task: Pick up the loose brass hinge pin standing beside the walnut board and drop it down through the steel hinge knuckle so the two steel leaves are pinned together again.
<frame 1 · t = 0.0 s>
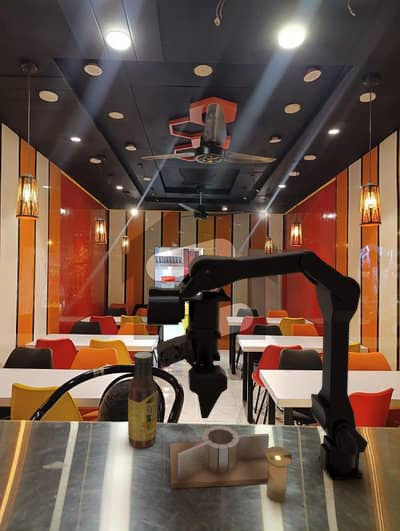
hand: (201, 404, 68), 15 cm above the countertop, tool pointing down, fingers open, 9 cm apart
hinge pin: (276, 495, 66), on the countertop
hinge: (223, 450, 72), on the walnut board, point 4 cm above the countertop
sauce bottle: (142, 441, 81), on the countertop
walnut board: (219, 464, 74), on the countertop
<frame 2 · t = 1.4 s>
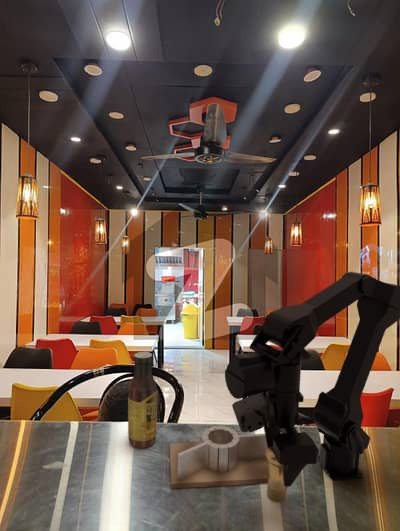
hand: (278, 467, 65), 6 cm above the countertop, tool pointing down, fingers open, 9 cm apart
nothing on the countertop moved.
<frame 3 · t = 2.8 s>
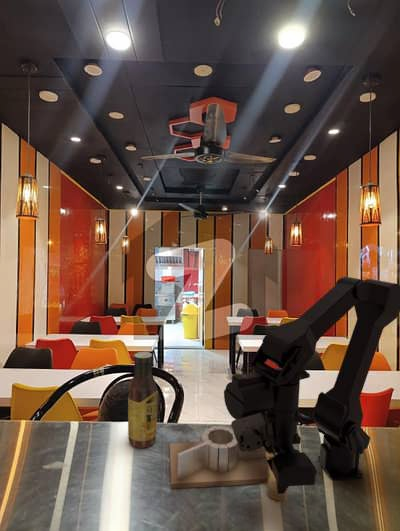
hand: (277, 484, 65), 2 cm above the countertop, tool pointing down, fingers closed on hinge pin, 4 cm apart
hinge pin: (276, 495, 66), on the countertop, touching gripper
everything else where it was.
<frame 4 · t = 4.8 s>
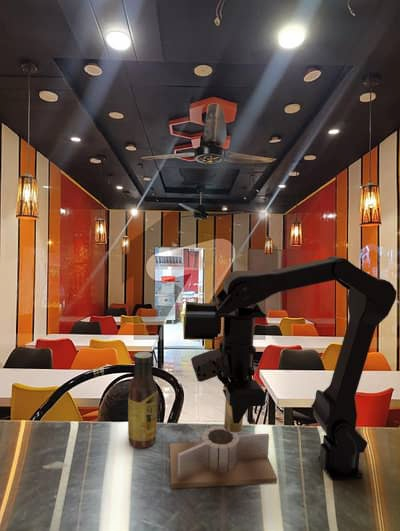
hand: (233, 417, 70), 12 cm above the countertop, tool pointing down, fingers closed on hinge pin, 4 cm apart
hinge pin: (233, 427, 70), point 10 cm above the countertop, touching gripper
everything else where it was.
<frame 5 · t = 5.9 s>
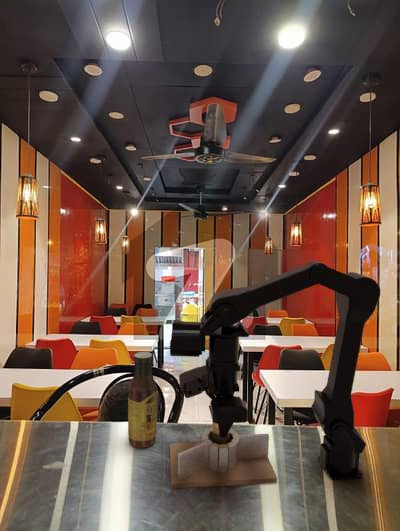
hand: (221, 431, 73), 7 cm above the countertop, tool pointing down, fingers closed on hinge pin, 4 cm apart
hinge pin: (220, 440, 73), point 5 cm above the countertop, touching gripper
everything else where it was.
when the fingers open (6 cm above the countertop, at t = 6.8 s): hinge pin drops 3 cm, resting on walnut board.
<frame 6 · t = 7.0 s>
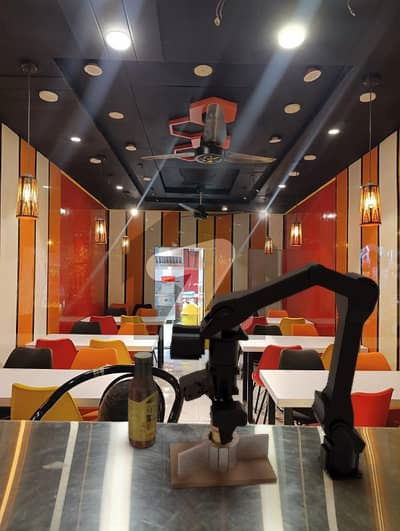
hand: (220, 434, 73), 6 cm above the countertop, tool pointing down, fingers open, 6 cm apart
hinge pin: (219, 459, 73), point 1 cm above the countertop, touching walnut board
everything else where it was.
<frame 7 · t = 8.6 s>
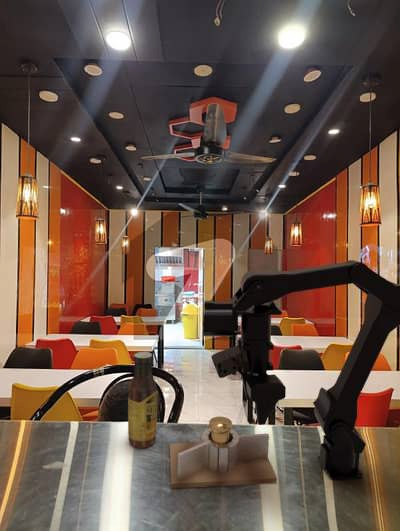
hand: (254, 411, 72), 12 cm above the countertop, tool pointing down, fingers open, 9 cm apart
nothing on the countertop moved.
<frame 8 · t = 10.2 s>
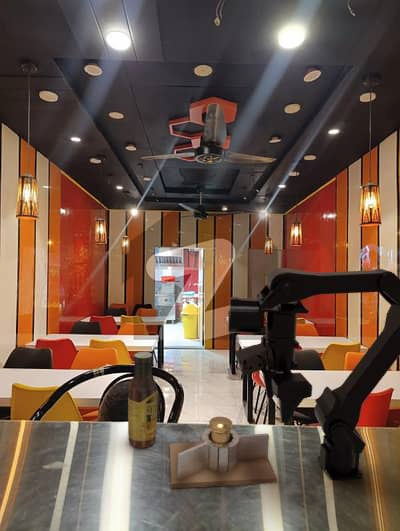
hand: (276, 409, 72), 12 cm above the countertop, tool pointing down, fingers open, 9 cm apart
nothing on the countertop moved.
at the end: hinge pin 0.1 cm off-centre on the hinge, point 1.0 cm above the hinge's base; hinge pin tilted 0°; the gripper is holding nothing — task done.
